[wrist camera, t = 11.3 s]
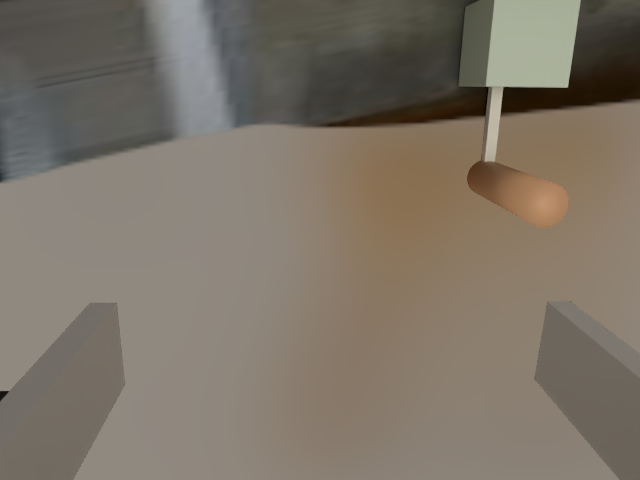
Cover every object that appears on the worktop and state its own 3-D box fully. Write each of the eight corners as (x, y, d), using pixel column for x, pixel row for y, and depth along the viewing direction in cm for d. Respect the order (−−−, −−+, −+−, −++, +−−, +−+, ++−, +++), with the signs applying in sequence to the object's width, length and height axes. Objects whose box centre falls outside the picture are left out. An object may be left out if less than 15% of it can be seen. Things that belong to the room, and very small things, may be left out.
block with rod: (449, 194, 44) (499, 227, 34) (465, 6, 40) (529, -23, 29) (515, 194, 44) (586, 227, 34) (539, 8, 40) (628, -20, 30)
